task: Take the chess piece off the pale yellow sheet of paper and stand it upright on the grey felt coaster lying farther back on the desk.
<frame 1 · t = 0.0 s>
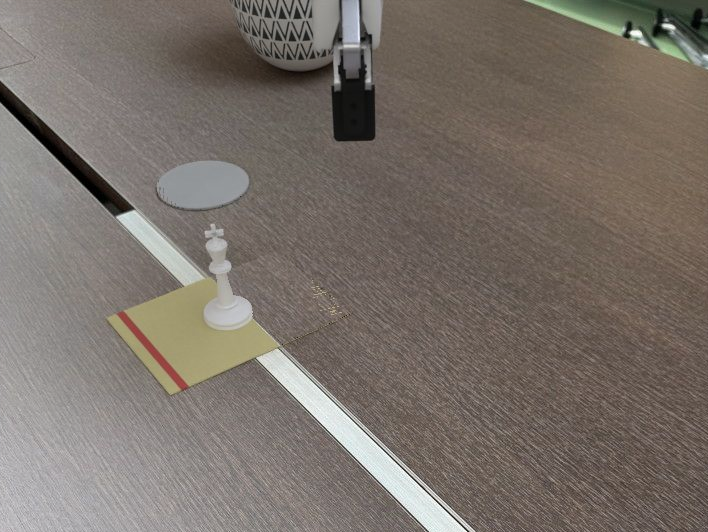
hand: (354, 110, 68), 20 cm above the table, tool pointing down, fingers open, 9 cm apart
planter: (301, 64, 122), on the table
paper: (229, 316, 84), on the table
coaster: (203, 185, 100), on the table
chess piece: (229, 317, 84), resting on paper
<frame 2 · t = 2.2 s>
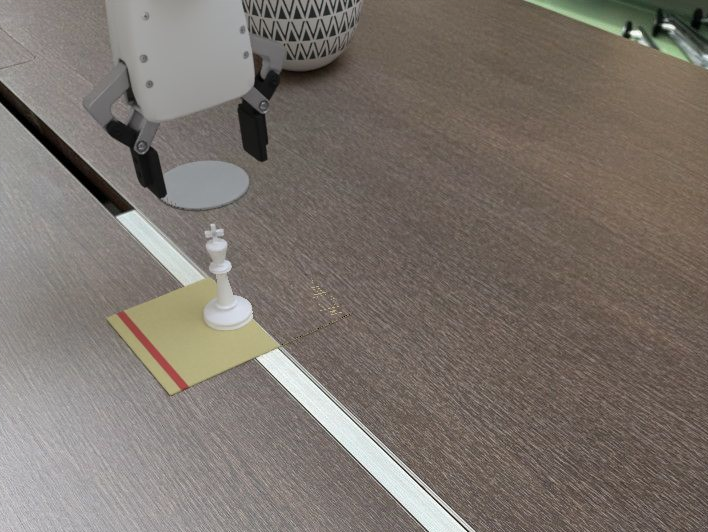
hand: (207, 173, 72), 15 cm above the table, tool pointing down, fingers open, 9 cm apart
nothing on the table moved.
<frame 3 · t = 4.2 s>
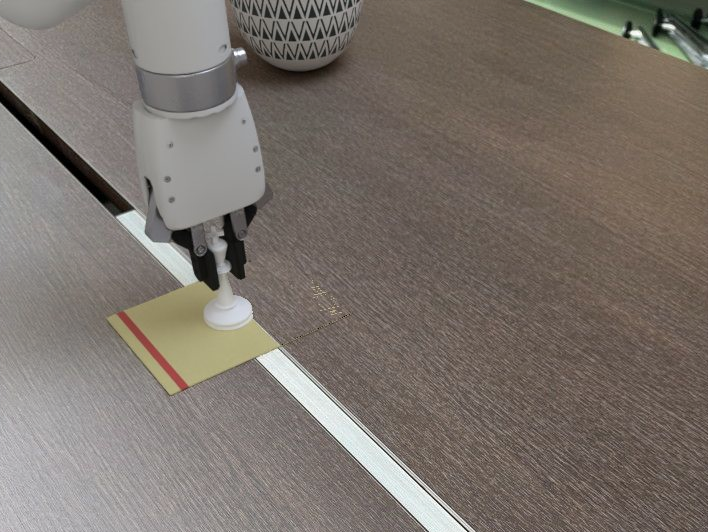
hand: (222, 276, 80), 5 cm above the table, tool pointing down, fingers closed on chess piece
chess piece: (229, 317, 84), resting on paper, touching gripper
everything else where it was.
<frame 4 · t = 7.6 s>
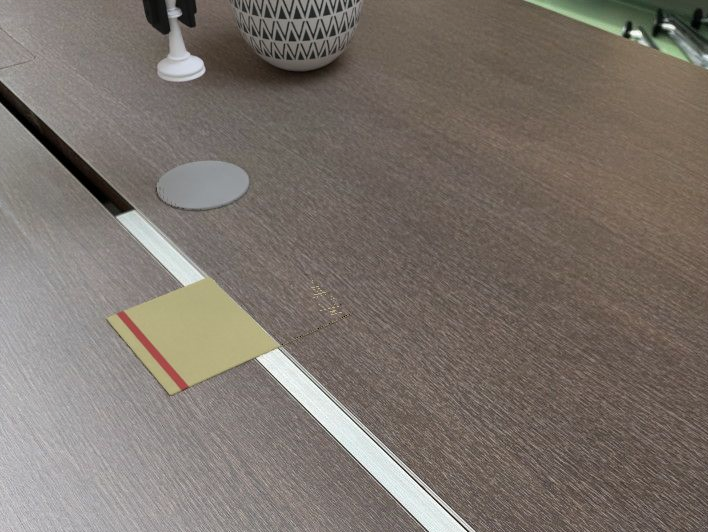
hand: (173, 25, 84), 19 cm above the table, tool pointing down, fingers closed on chess piece
chess piece: (181, 73, 88), point 14 cm above the table, touching gripper
everything else where it was.
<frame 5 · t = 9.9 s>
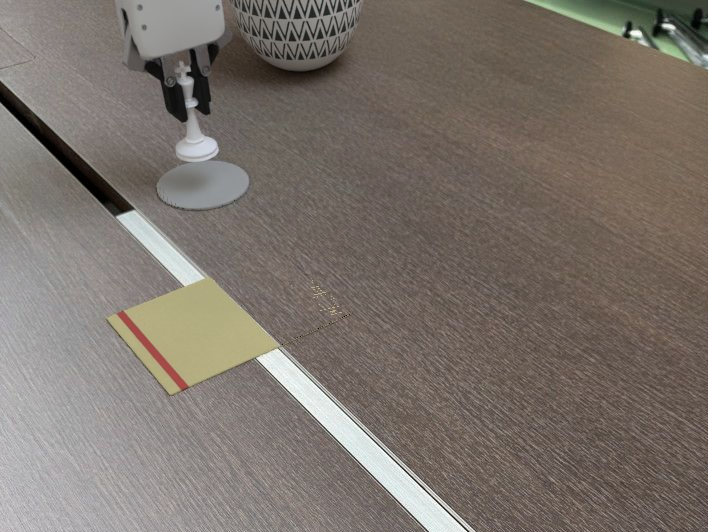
hand: (190, 112, 93), 9 cm above the table, tool pointing down, fingers closed on chess piece
chess piece: (197, 153, 97), point 4 cm above the table, touching gripper
everything else where it was.
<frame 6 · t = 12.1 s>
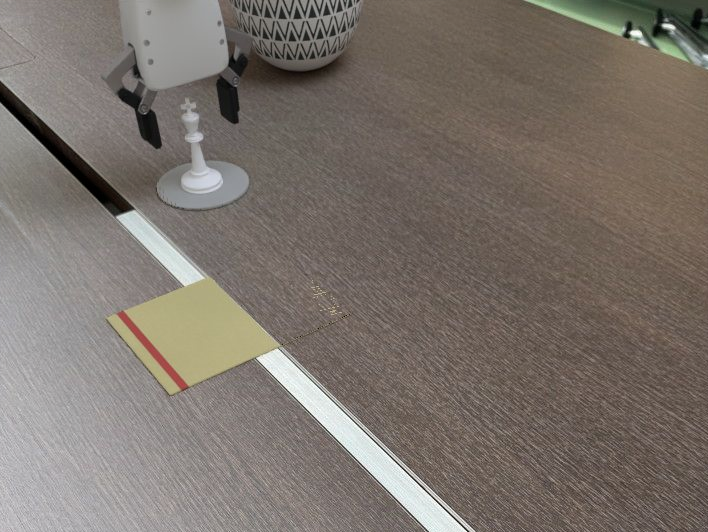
hand: (192, 131, 95), 7 cm above the table, tool pointing down, fingers open, 9 cm apart
chess piece: (202, 185, 100), resting on coaster
everything else where it was.
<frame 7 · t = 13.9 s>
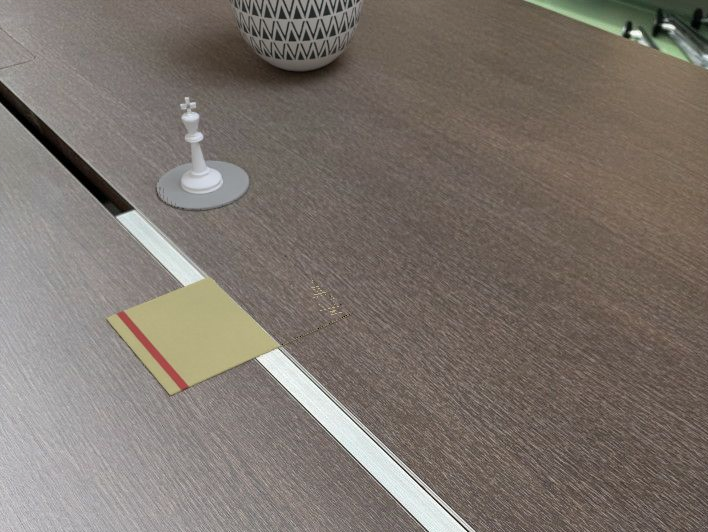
nothing on the table moved.
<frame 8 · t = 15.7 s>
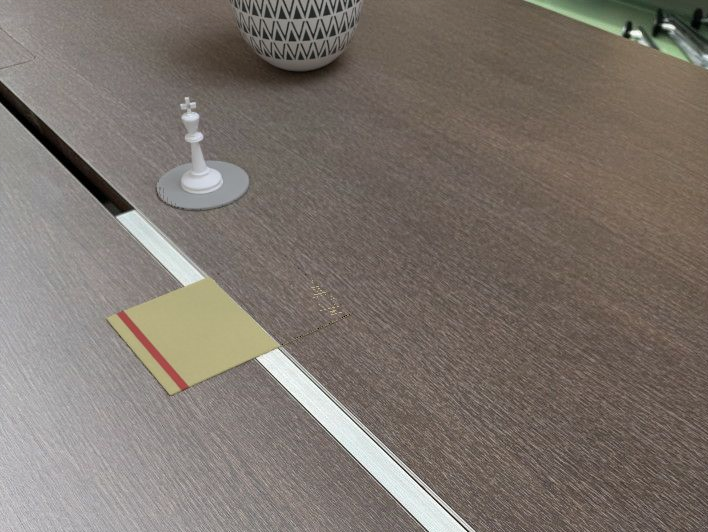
nothing on the table moved.
at the end: chess piece touching coaster; chess piece 0.1 cm off-centre on the coaster, point 0.1 cm above the coaster's base; chess piece tilted 0° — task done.
